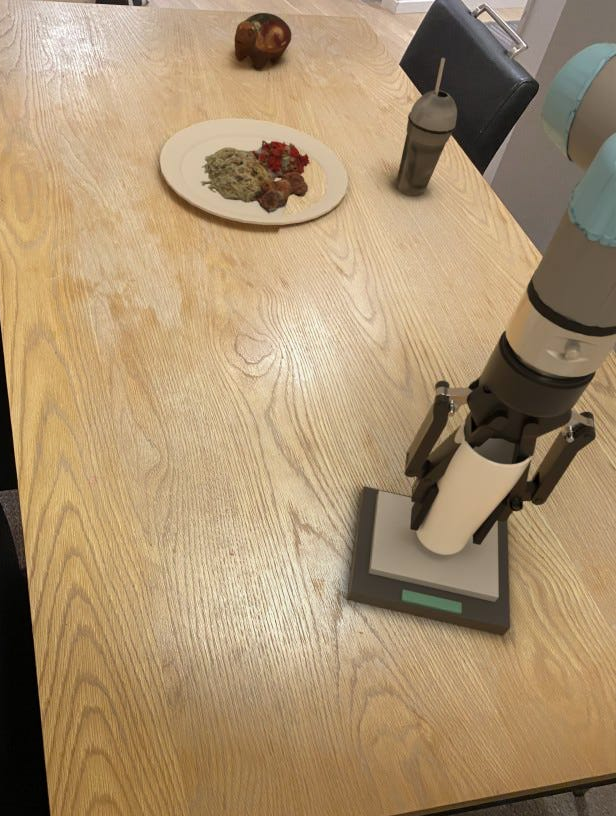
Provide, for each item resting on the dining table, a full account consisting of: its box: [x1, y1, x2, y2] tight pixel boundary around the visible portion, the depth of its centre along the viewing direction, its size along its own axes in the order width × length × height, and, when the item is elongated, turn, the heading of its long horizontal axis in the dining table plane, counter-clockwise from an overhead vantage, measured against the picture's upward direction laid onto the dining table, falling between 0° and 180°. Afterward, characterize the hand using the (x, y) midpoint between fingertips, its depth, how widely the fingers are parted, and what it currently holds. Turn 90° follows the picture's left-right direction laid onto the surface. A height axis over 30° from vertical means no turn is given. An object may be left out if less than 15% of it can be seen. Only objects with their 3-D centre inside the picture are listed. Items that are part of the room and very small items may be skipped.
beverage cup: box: [395, 57, 458, 198], centre depth 115 cm, size 7×7×20 cm
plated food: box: [159, 117, 349, 226], centre depth 120 cm, size 30×30×3 cm
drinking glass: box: [416, 417, 536, 555], centre depth 72 cm, size 7×7×15 cm
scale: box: [346, 485, 511, 637], centre depth 80 cm, size 16×14×4 cm
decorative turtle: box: [234, 12, 292, 71], centre depth 142 cm, size 10×15×8 cm, turn 143°
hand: (445, 526), depth 77 cm, fingers closed on drinking glass, 6 cm apart
